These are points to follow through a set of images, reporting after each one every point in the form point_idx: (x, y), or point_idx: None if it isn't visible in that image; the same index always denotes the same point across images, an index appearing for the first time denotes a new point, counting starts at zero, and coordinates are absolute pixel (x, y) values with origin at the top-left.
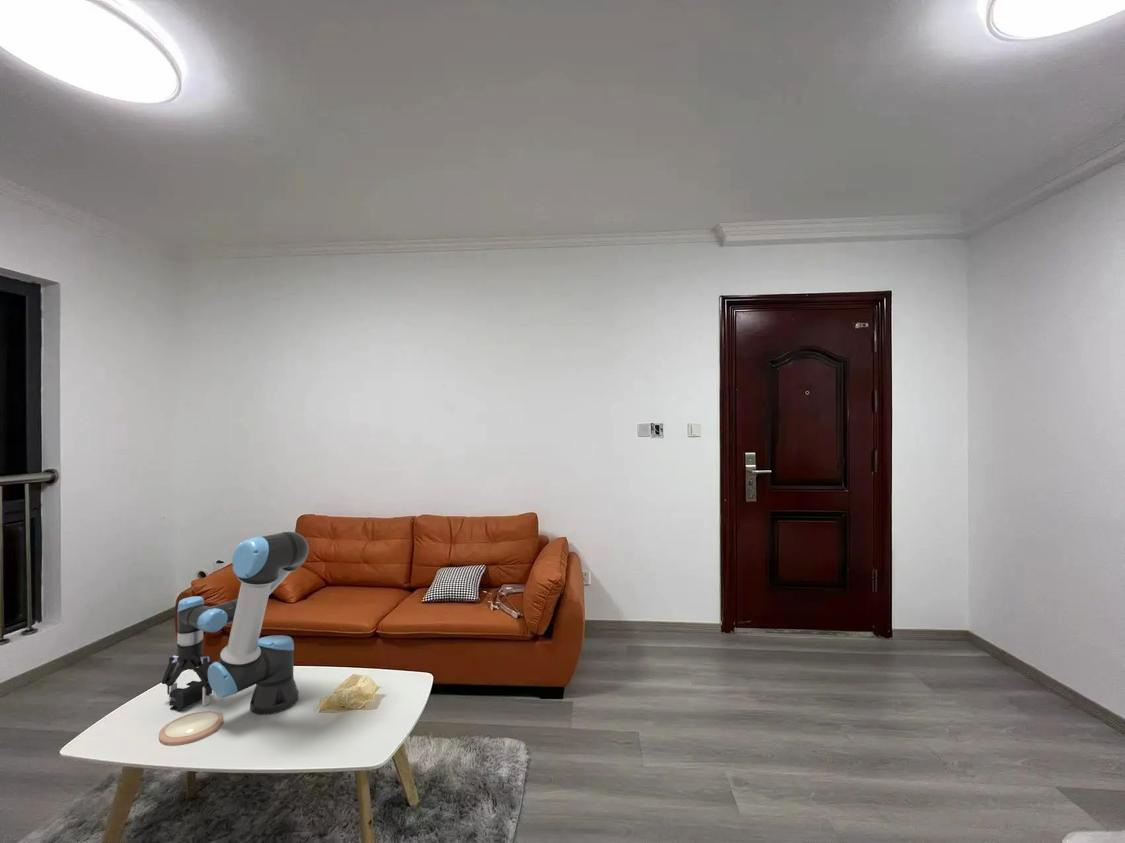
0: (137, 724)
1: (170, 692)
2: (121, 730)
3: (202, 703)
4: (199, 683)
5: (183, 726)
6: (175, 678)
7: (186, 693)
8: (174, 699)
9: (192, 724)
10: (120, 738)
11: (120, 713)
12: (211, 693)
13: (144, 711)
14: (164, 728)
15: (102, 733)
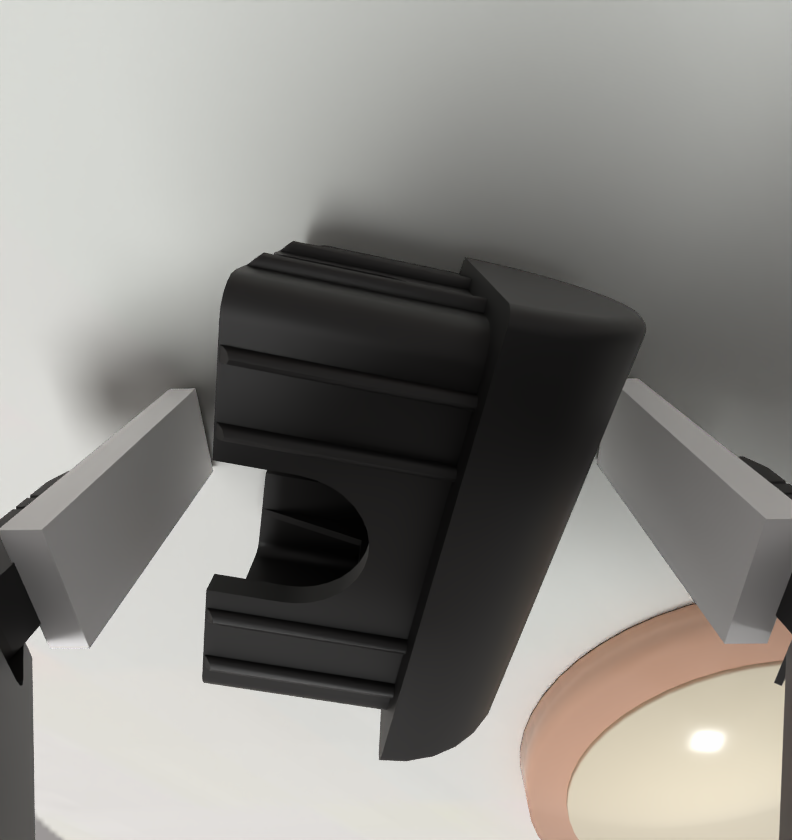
0: (228, 716)
1: (213, 682)
2: (193, 769)
3: (609, 480)
4: (524, 481)
5: (698, 815)
6: (8, 732)
7: (492, 692)
8: (186, 443)
9: (757, 794)
10: (288, 824)
11: None
12: (745, 458)
13: None
14: (551, 822)
15: (103, 795)
